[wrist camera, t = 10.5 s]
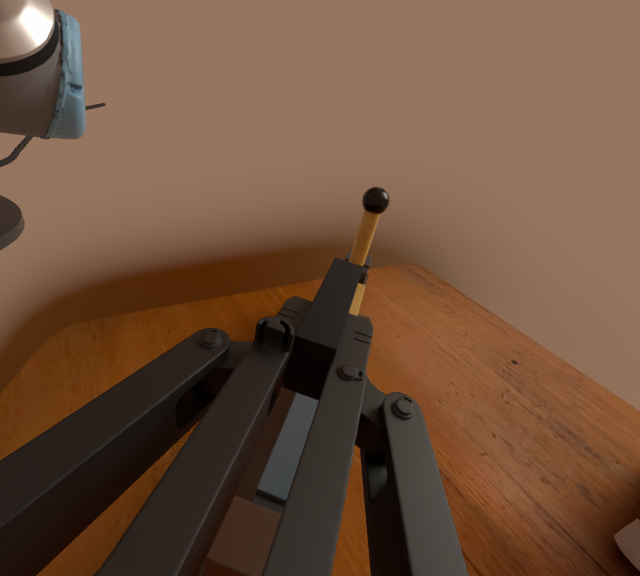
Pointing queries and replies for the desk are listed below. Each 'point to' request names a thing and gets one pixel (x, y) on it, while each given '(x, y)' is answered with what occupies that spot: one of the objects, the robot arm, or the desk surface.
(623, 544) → the handle
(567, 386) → the desk surface
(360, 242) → the bolt
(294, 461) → the sliding lever mechanism
